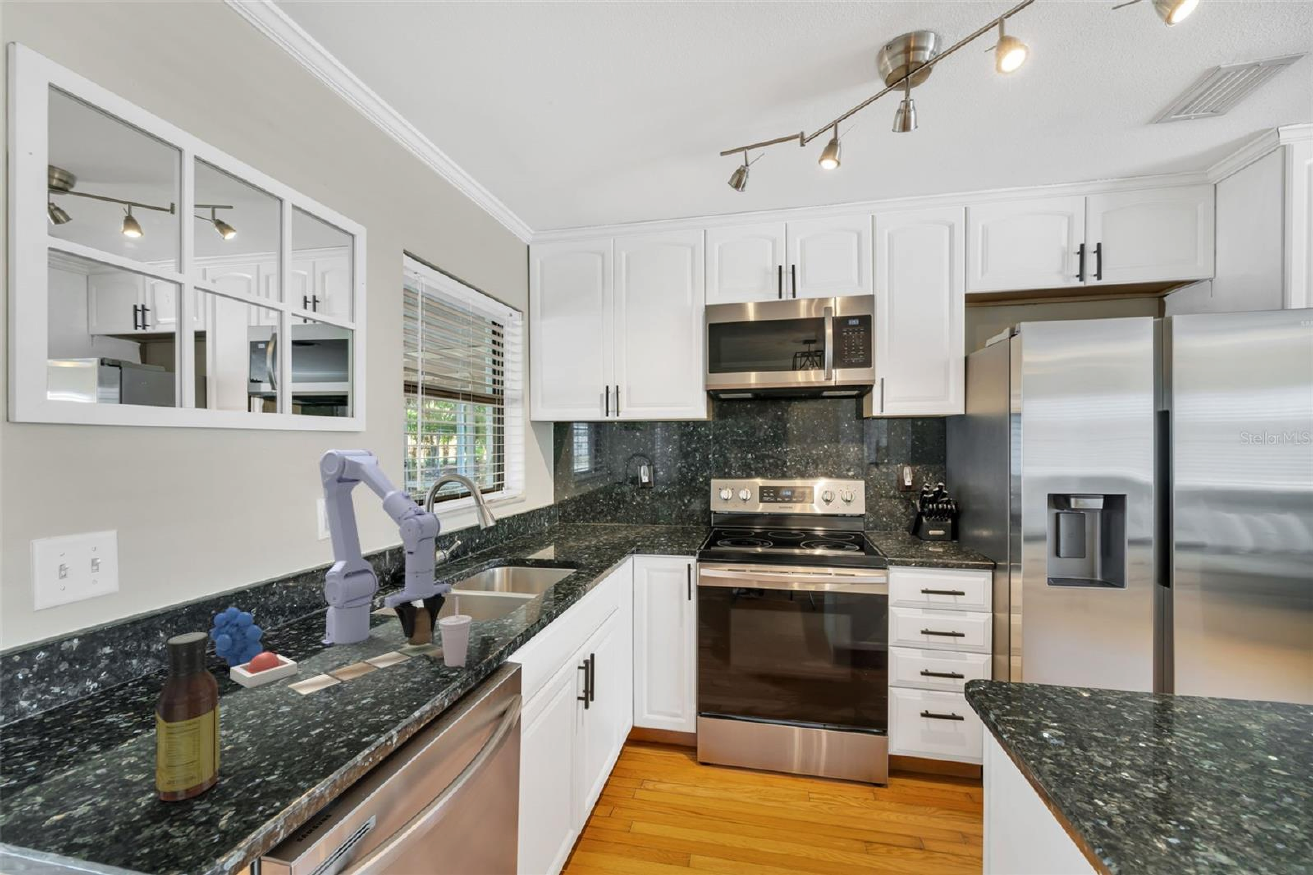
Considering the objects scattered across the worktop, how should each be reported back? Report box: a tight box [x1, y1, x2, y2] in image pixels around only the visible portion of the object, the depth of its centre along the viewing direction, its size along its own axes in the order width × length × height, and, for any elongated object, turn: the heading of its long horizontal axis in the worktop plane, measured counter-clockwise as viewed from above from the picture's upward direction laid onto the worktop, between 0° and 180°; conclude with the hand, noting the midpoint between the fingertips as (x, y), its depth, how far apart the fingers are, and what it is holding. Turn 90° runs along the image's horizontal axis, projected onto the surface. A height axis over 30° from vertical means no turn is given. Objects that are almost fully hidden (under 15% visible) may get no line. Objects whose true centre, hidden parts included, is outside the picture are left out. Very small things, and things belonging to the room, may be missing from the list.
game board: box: [286, 642, 444, 696], centre depth 109 cm, size 12×28×1 cm, turn 147°
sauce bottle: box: [155, 631, 220, 802], centre depth 71 cm, size 7×6×20 cm
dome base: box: [229, 653, 298, 690], centre depth 104 cm, size 8×8×3 cm
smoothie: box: [438, 596, 473, 668], centre depth 110 cm, size 6×6×14 cm
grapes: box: [210, 606, 264, 668], centre depth 109 cm, size 12×7×12 cm, turn 79°
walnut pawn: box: [407, 606, 432, 646], centre depth 117 cm, size 4×4×7 cm
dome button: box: [248, 651, 280, 674], centre depth 104 cm, size 5×5×5 cm
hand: (419, 633), depth 118 cm, fingers closed on walnut pawn, 4 cm apart
